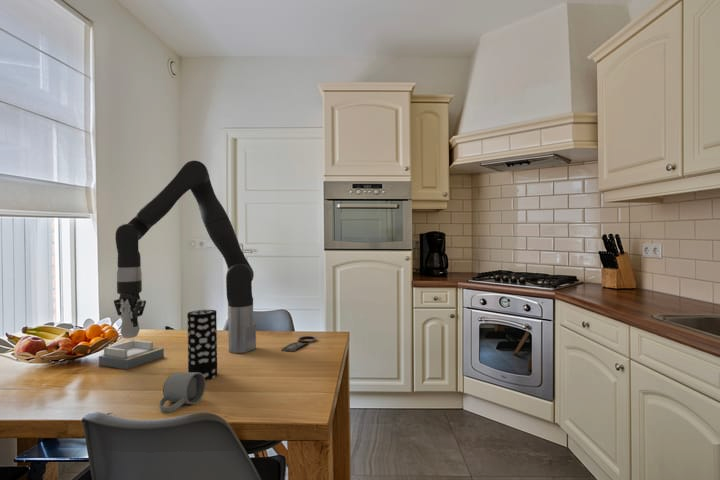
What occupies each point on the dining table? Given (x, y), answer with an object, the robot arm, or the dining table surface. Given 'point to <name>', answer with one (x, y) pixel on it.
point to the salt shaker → (128, 324)
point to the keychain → (299, 343)
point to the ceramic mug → (182, 389)
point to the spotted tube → (202, 343)
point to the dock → (130, 354)
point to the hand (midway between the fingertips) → (130, 327)
